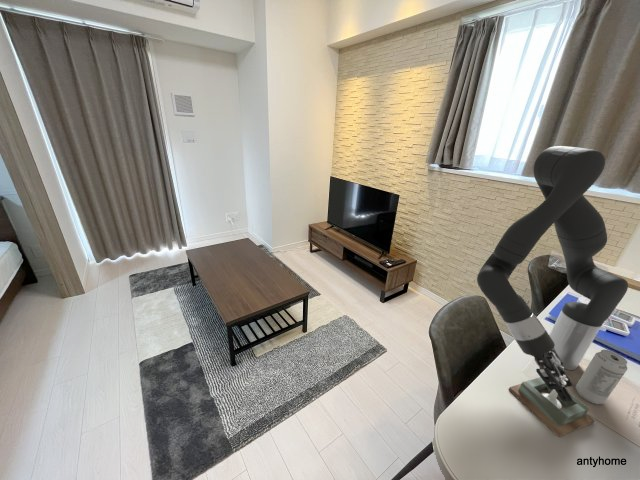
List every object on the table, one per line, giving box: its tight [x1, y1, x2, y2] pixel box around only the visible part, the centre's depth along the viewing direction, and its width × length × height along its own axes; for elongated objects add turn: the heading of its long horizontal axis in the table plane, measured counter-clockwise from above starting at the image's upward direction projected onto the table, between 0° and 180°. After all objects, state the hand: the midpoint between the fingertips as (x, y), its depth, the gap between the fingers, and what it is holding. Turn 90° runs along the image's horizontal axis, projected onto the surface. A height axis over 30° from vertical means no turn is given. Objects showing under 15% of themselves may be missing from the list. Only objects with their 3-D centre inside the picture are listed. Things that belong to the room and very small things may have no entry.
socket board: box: [508, 376, 595, 438], centre depth 69 cm, size 13×13×4 cm
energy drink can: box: [575, 349, 628, 405], centre depth 71 cm, size 6×6×15 cm
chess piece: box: [541, 374, 568, 410], centre depth 68 cm, size 5×5×10 cm
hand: (567, 392), depth 66 cm, fingers open, 5 cm apart
